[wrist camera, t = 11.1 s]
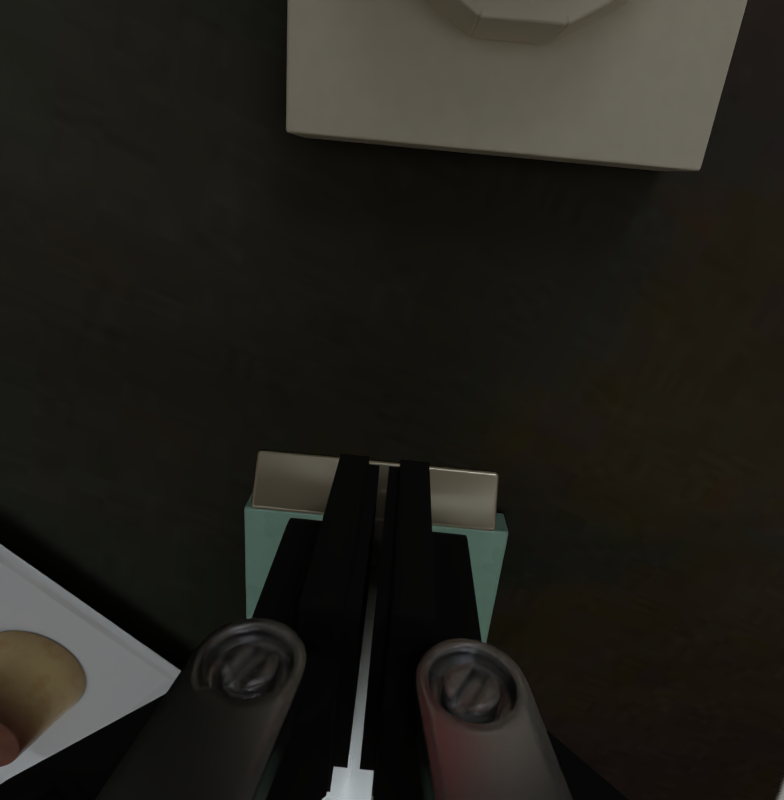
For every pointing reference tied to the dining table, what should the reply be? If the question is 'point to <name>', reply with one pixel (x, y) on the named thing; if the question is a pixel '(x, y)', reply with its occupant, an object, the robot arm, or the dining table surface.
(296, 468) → the hammer
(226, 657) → the robot arm
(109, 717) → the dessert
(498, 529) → the green lever stand
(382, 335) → the dining table surface
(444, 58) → the block
